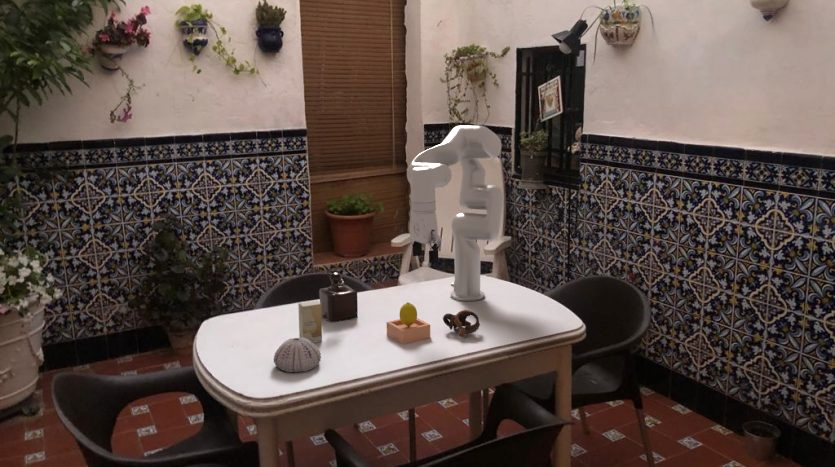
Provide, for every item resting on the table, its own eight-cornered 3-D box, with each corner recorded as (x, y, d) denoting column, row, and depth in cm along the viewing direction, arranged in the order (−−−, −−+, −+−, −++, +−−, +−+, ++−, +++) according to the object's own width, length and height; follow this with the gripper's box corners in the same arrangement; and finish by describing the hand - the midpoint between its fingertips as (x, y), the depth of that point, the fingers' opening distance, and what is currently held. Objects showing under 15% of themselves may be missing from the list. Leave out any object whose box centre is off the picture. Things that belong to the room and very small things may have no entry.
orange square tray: (386, 334, 216) (386, 322, 215) (413, 328, 221) (413, 316, 221) (403, 344, 208) (402, 330, 207) (430, 337, 213) (430, 324, 212)
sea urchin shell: (322, 355, 201) (320, 329, 199) (321, 373, 188) (320, 346, 186) (276, 358, 199) (274, 332, 197) (272, 377, 186) (270, 349, 184)
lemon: (418, 323, 217) (417, 299, 215) (416, 329, 211) (415, 305, 210) (400, 323, 217) (400, 299, 215) (398, 329, 212) (398, 305, 210)
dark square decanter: (317, 314, 237) (315, 264, 233) (347, 309, 242) (345, 260, 238) (333, 327, 224) (331, 274, 220) (364, 322, 228) (362, 270, 225)
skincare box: (303, 344, 209) (301, 306, 206) (299, 340, 213) (297, 302, 210) (323, 340, 212) (321, 303, 209) (318, 336, 216) (316, 299, 213)
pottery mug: (478, 328, 222) (483, 311, 217) (473, 350, 215) (478, 333, 209) (443, 318, 223) (447, 301, 218) (436, 339, 216) (441, 322, 211)
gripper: (399, 204, 219) (401, 255, 223) (428, 212, 205) (430, 267, 209) (419, 200, 223) (421, 251, 227) (449, 209, 209) (450, 262, 213)
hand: (425, 258), depth 218 cm, fingers open, 9 cm apart
